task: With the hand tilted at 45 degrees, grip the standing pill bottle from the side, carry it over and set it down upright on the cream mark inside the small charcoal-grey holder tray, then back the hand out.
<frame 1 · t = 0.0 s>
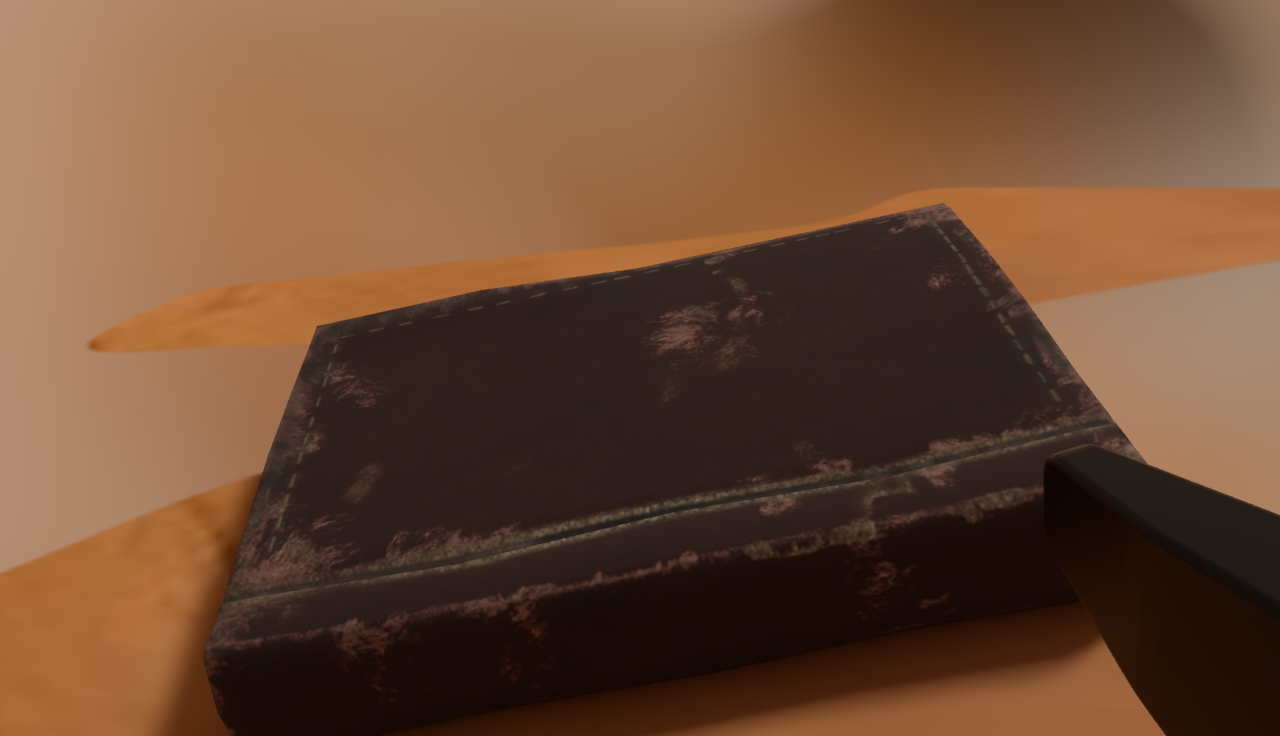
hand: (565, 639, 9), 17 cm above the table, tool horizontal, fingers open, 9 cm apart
diary: (669, 498, 38), on the table
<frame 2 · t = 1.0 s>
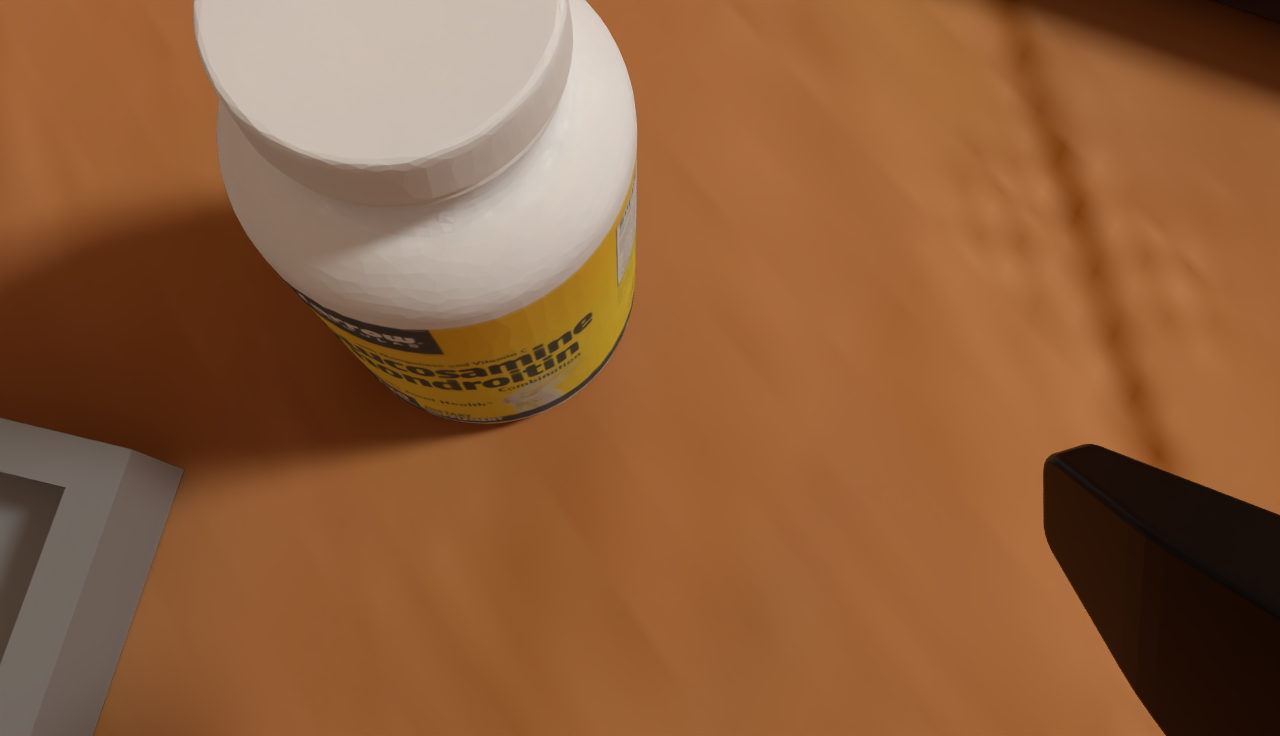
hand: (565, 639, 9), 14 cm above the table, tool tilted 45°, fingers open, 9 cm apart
pill bottle: (495, 293, 25), on the table
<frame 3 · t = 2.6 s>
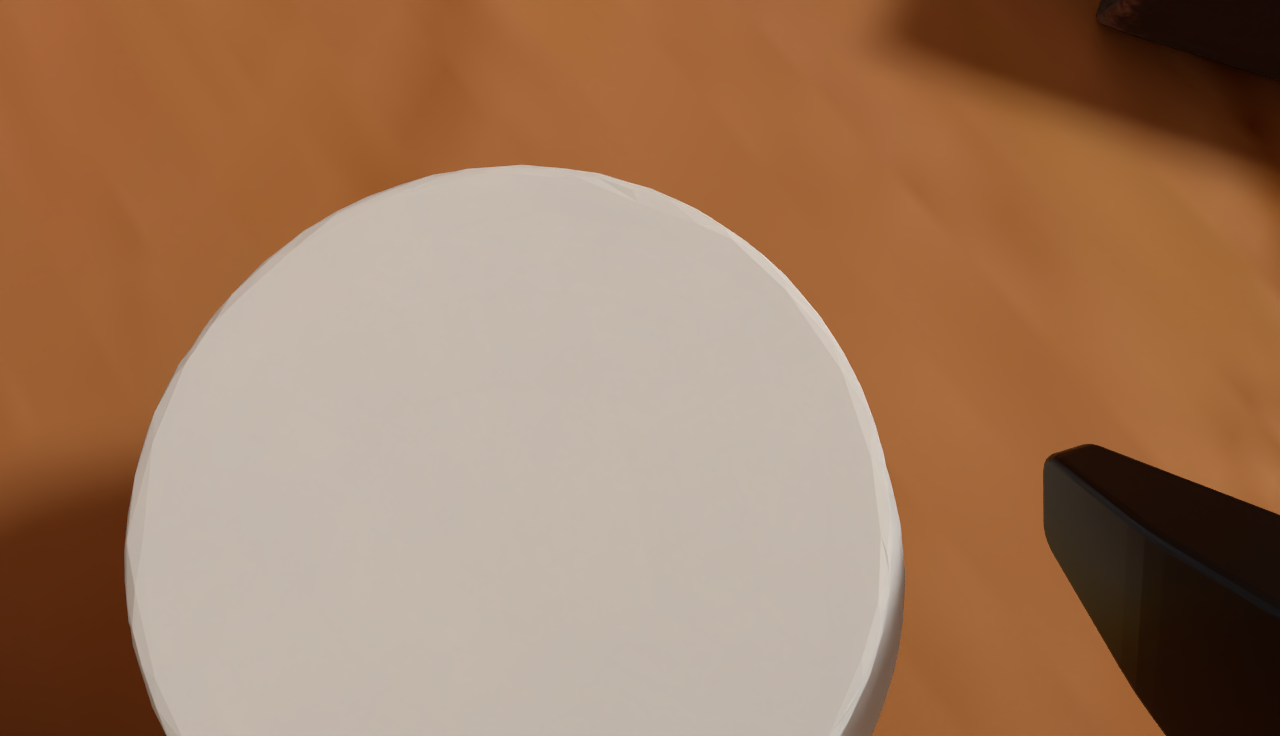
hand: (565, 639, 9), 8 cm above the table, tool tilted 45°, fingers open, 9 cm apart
pill bottle: (587, 597, 18), on the table
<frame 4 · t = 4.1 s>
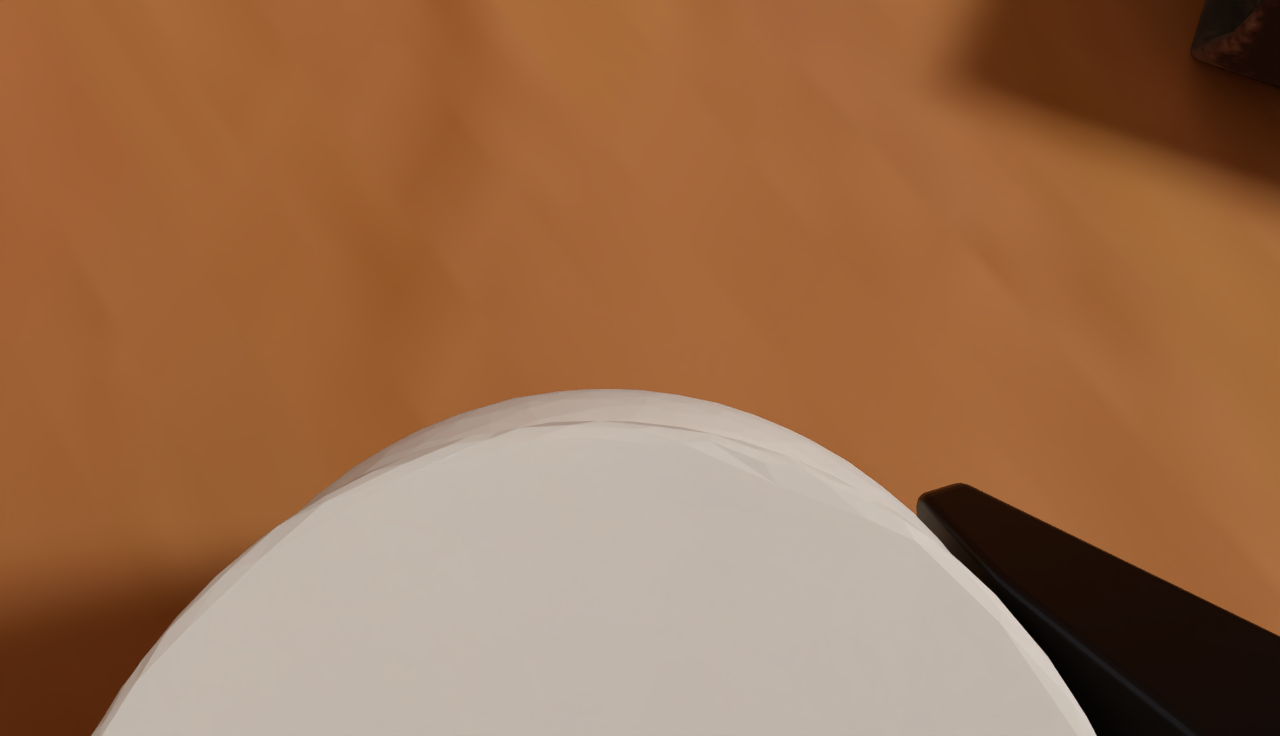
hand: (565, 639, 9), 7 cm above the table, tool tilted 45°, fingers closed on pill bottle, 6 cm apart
pill bottle: (618, 732, 16), on the table, touching gripper
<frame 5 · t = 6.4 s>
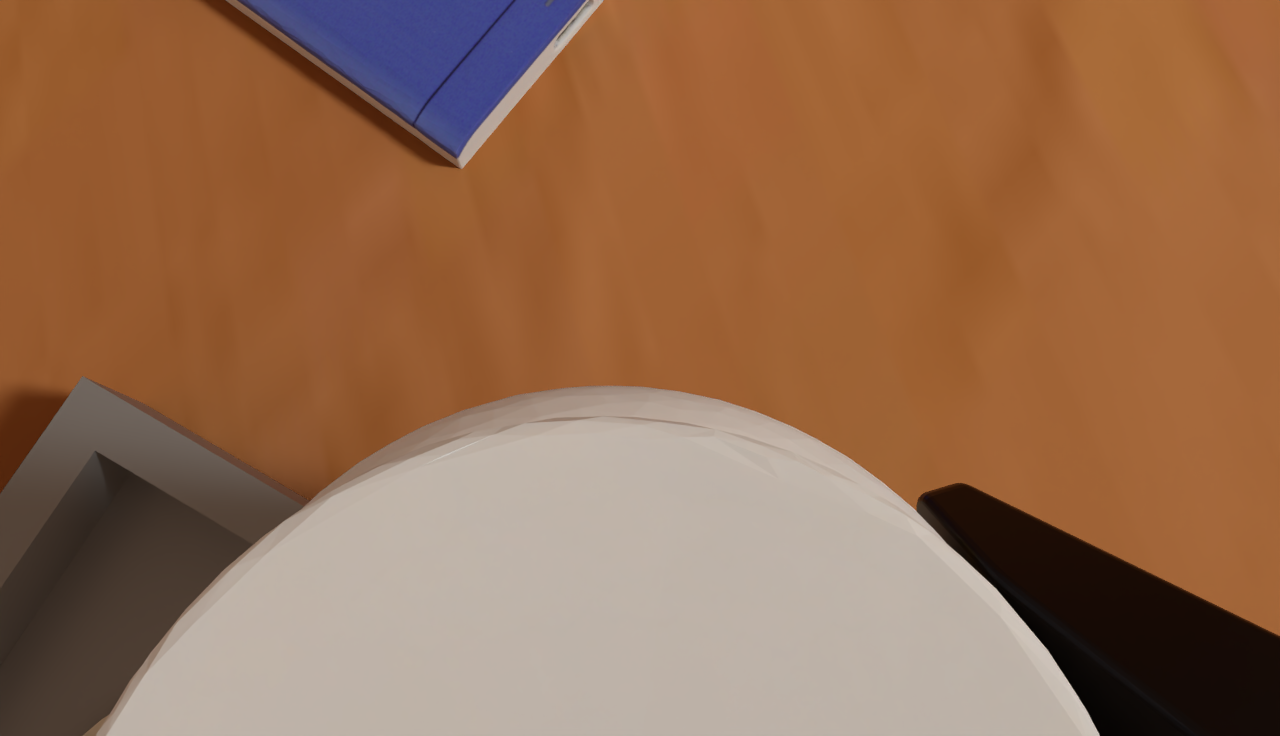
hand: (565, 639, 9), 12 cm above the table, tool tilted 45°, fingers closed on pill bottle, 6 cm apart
pill bottle: (620, 728, 16), point 5 cm above the table, touching gripper
when the fingers open (9 cm above the table, at t = 8.9 s): pill bottle stays where it is, resting on holder tray.
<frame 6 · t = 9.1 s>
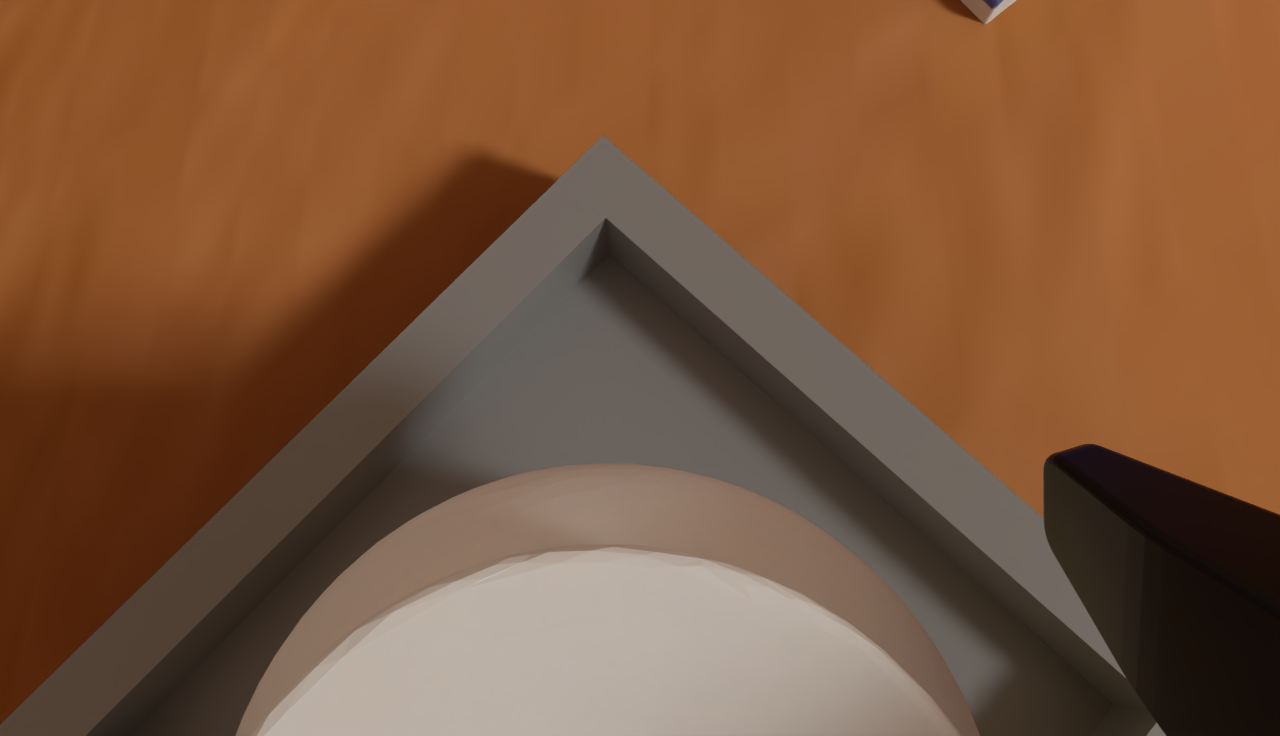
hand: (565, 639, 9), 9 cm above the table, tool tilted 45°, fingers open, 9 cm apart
holder tray: (622, 718, 18), on the table
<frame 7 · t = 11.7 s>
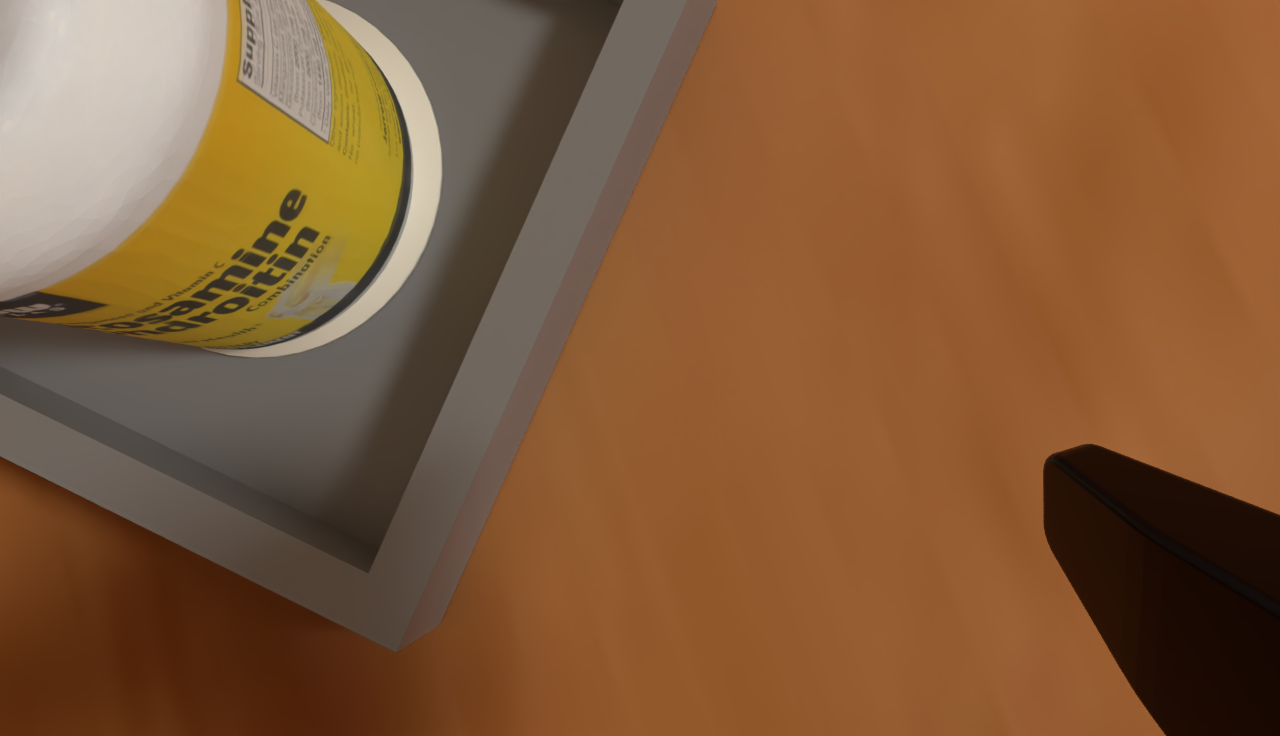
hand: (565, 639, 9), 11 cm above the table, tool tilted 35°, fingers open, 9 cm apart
holder tray: (283, 183, 22), on the table
pill bottle: (264, 185, 21), point 1 cm above the table, touching holder tray
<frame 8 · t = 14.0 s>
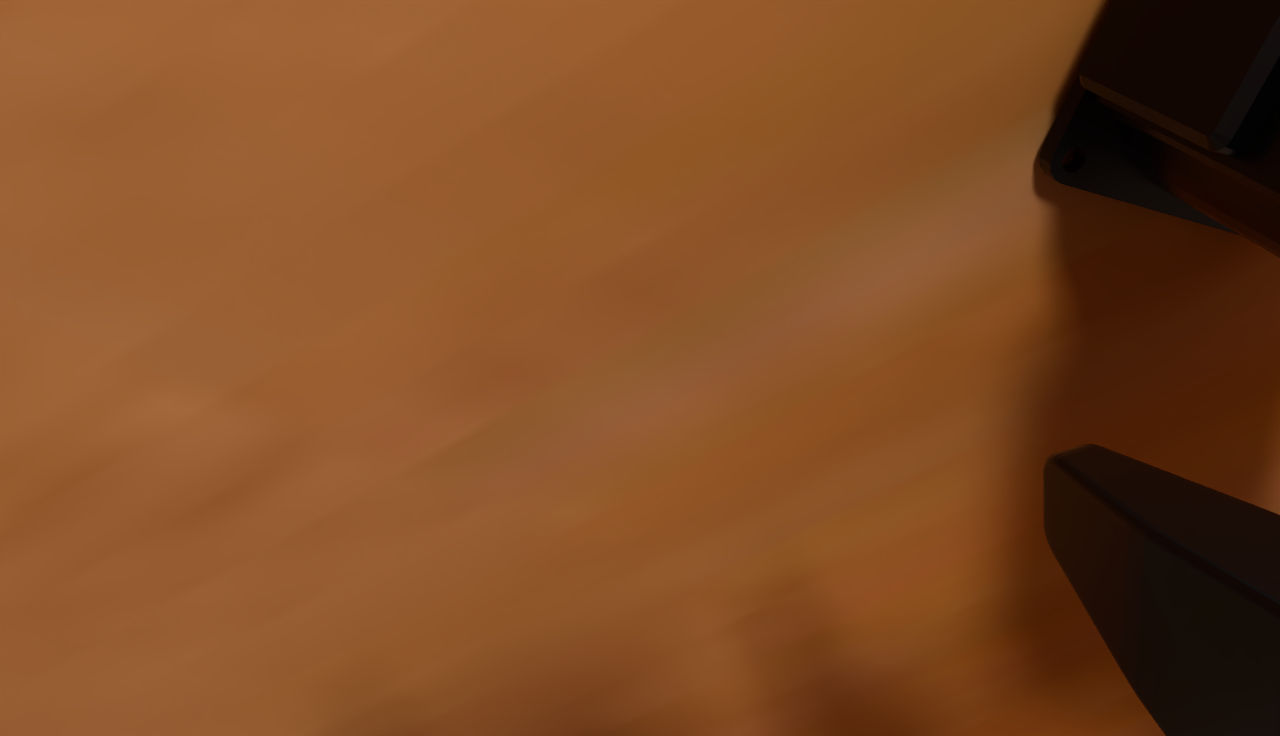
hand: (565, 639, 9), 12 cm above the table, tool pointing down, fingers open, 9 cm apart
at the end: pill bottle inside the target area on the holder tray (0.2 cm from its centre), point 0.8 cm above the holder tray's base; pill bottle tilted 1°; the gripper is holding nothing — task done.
